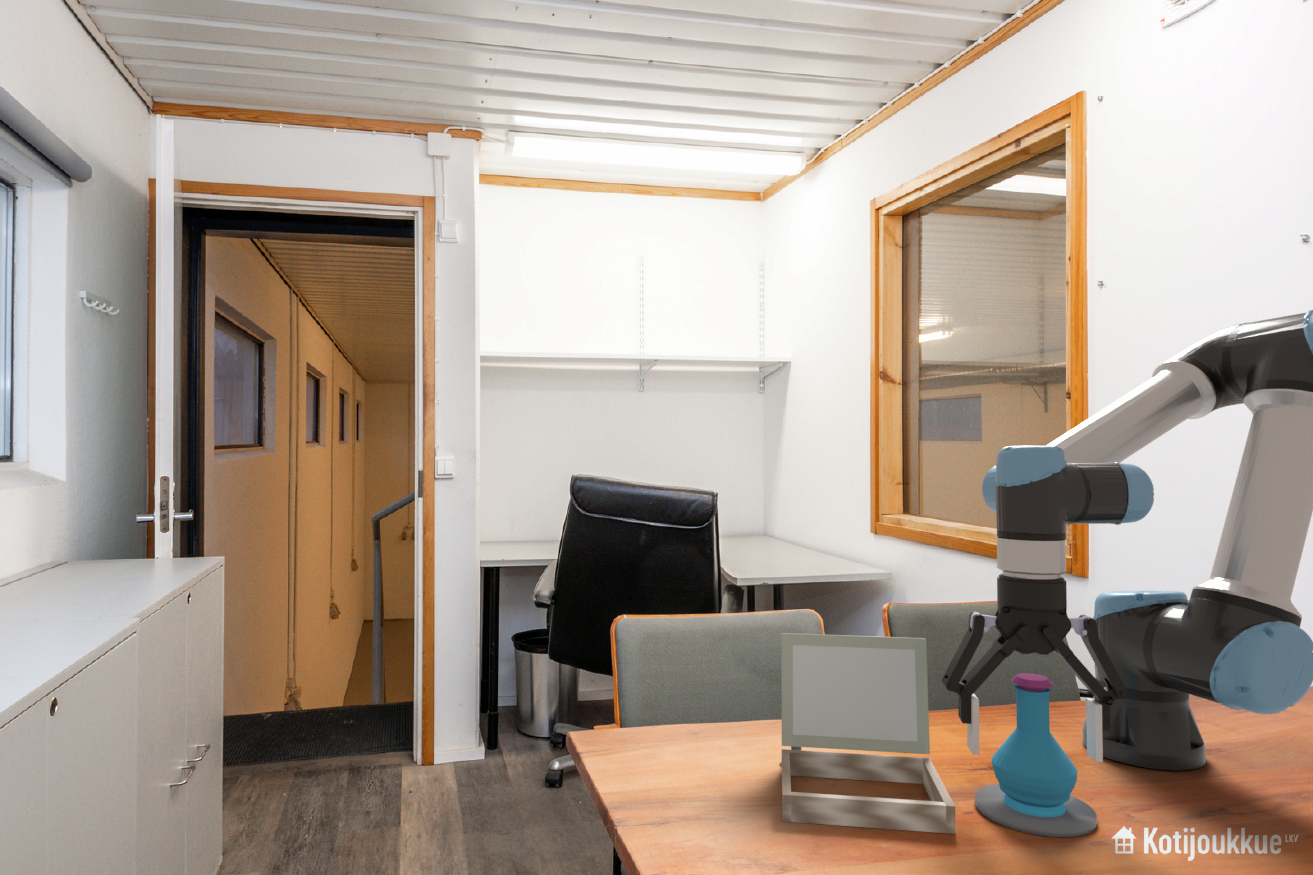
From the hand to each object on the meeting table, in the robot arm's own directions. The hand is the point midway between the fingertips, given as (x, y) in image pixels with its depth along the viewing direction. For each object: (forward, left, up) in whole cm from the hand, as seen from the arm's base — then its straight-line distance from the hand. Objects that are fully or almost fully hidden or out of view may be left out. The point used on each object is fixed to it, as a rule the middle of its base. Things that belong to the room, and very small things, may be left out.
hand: (1033, 754), depth 94 cm
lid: (+20, -8, +4) cm, 22 cm away
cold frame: (+20, 0, -7) cm, 21 cm away
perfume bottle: (0, 0, -6) cm, 6 cm away
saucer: (0, 0, -7) cm, 7 cm away
